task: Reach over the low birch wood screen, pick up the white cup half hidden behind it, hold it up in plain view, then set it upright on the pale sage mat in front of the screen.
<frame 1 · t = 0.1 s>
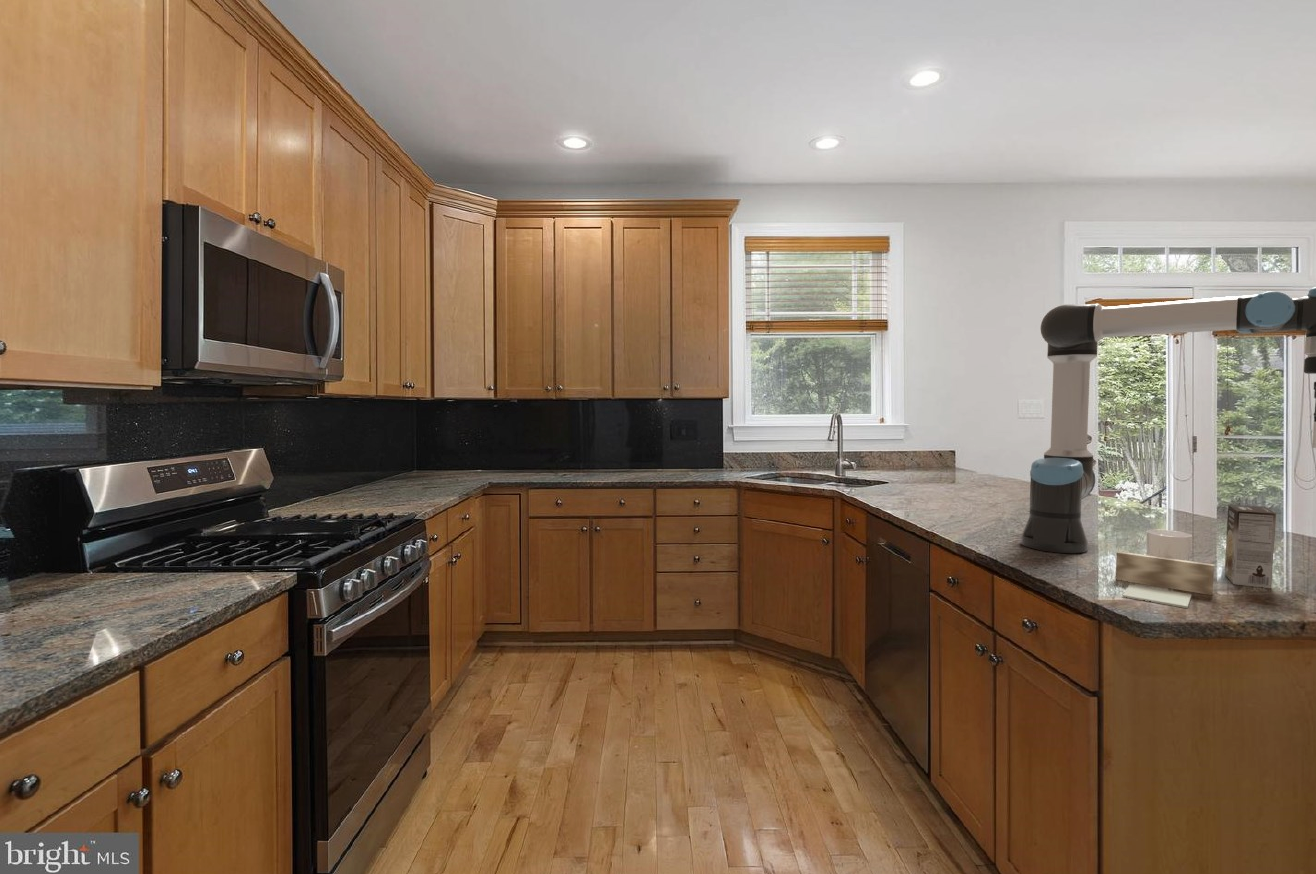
birch screen: (1162, 586, 133), on the worktop
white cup: (1166, 578, 140), on the worktop
coffee box: (1247, 582, 137), on the worktop
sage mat: (1157, 596, 126), on the worktop
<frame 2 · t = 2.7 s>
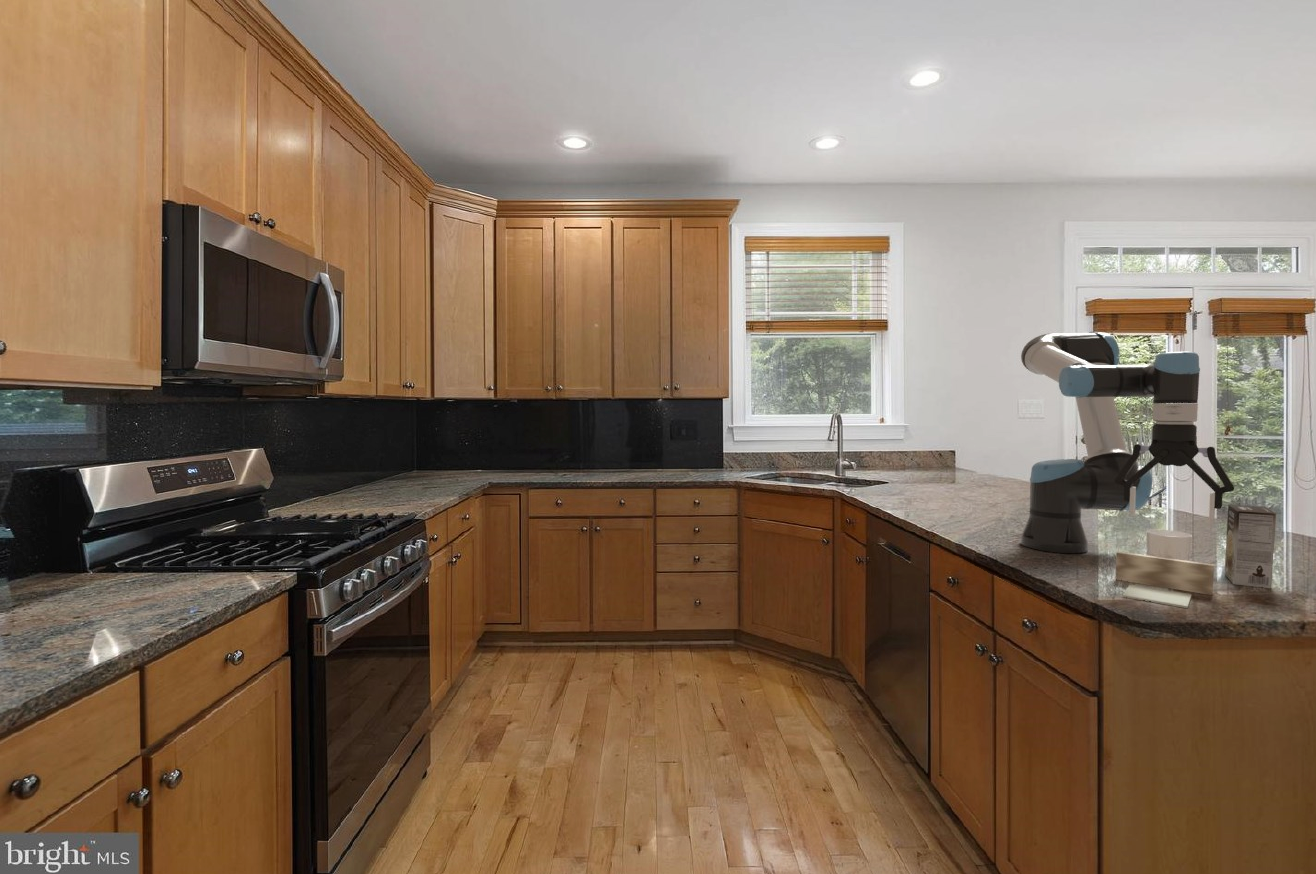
hand: (1170, 519, 139), 13 cm above the worktop, tool pointing down, fingers open, 13 cm apart
nothing on the worktop moved.
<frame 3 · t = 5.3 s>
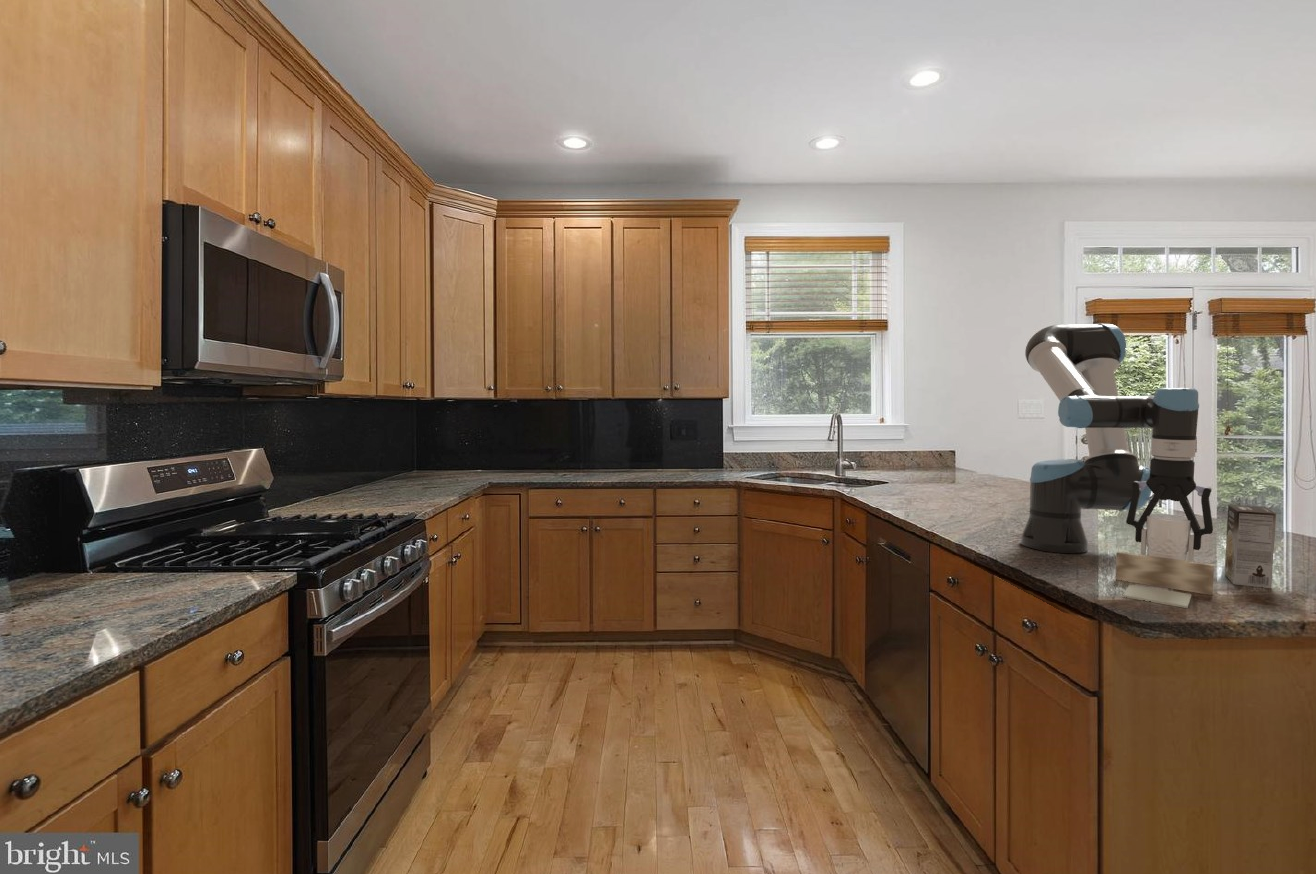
hand: (1166, 560, 140), 4 cm above the worktop, tool pointing down, fingers closed on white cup, 7 cm apart
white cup: (1166, 562, 140), point 3 cm above the worktop, touching gripper
everything else where it was.
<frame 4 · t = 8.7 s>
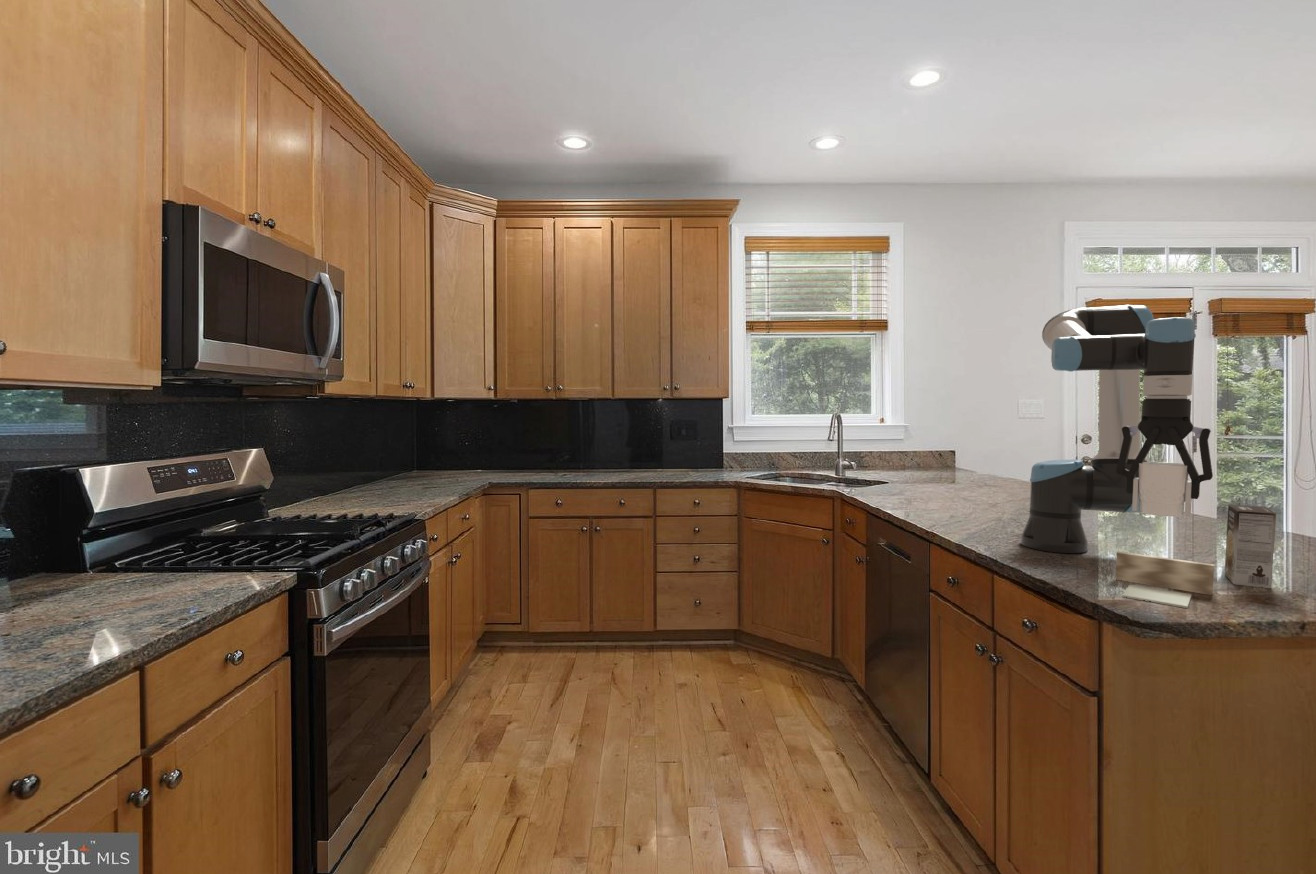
hand: (1160, 512, 125), 17 cm above the worktop, tool pointing down, fingers closed on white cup, 7 cm apart
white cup: (1161, 514, 126), point 17 cm above the worktop, touching gripper
everything else where it was.
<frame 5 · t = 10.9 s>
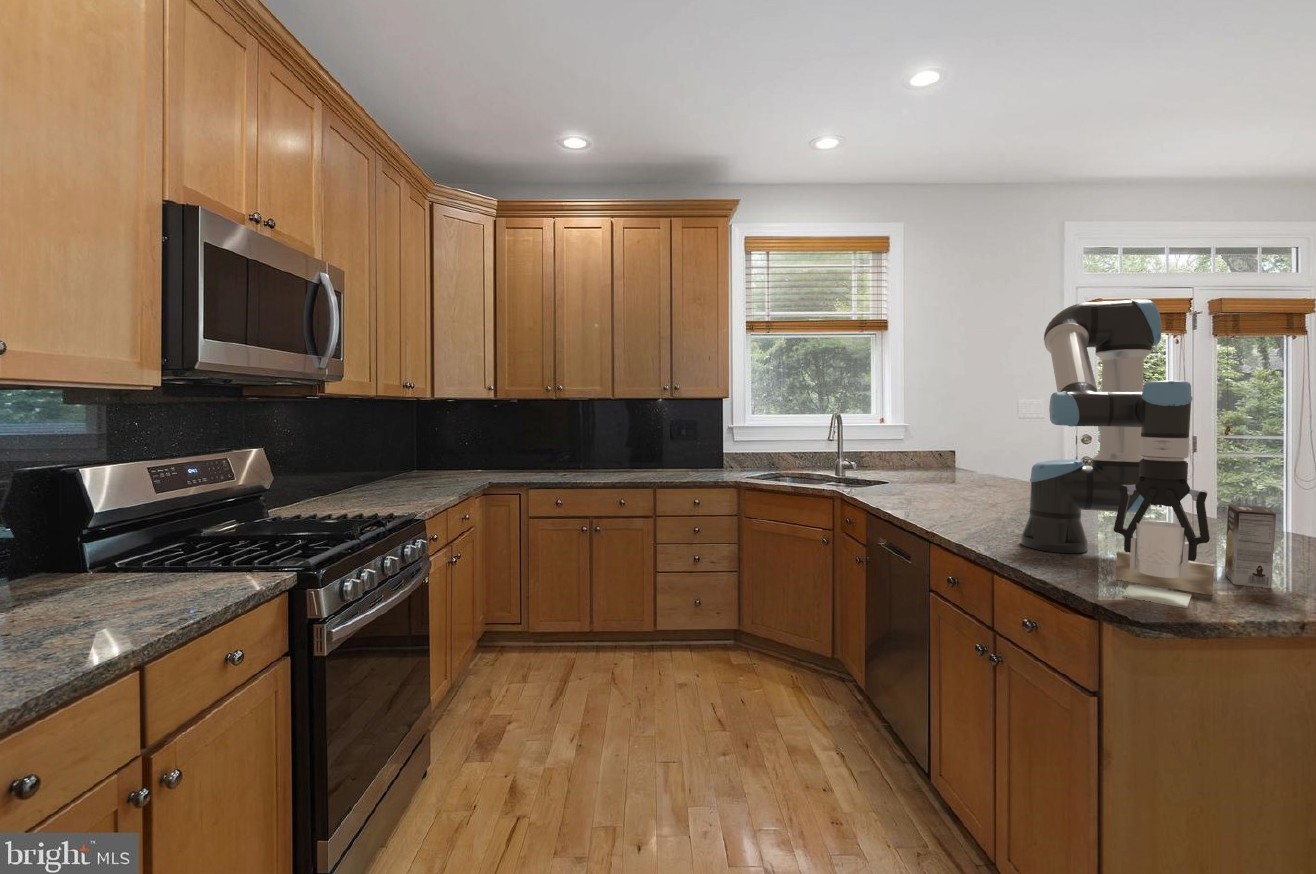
hand: (1158, 572, 126), 5 cm above the worktop, tool pointing down, fingers closed on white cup, 7 cm apart
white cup: (1158, 574, 126), point 4 cm above the worktop, touching gripper
everything else where it was.
when the fingers open (2 cm above the worktop, at t = 12.4 s): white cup drops 1 cm, resting on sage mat.
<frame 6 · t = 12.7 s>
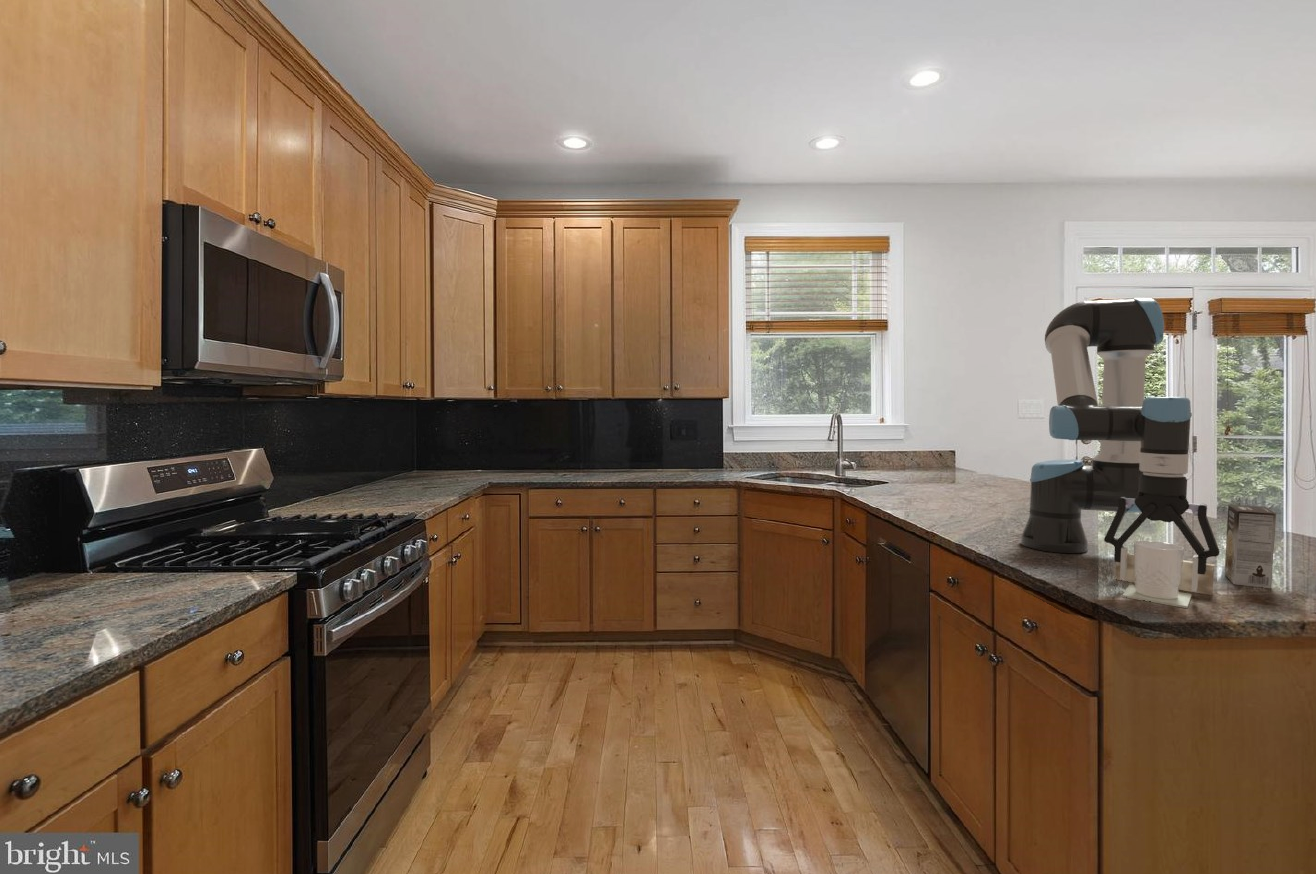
hand: (1157, 583, 126), 3 cm above the worktop, tool pointing down, fingers open, 10 cm apart
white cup: (1156, 595, 127), resting on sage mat
everything else where it was.
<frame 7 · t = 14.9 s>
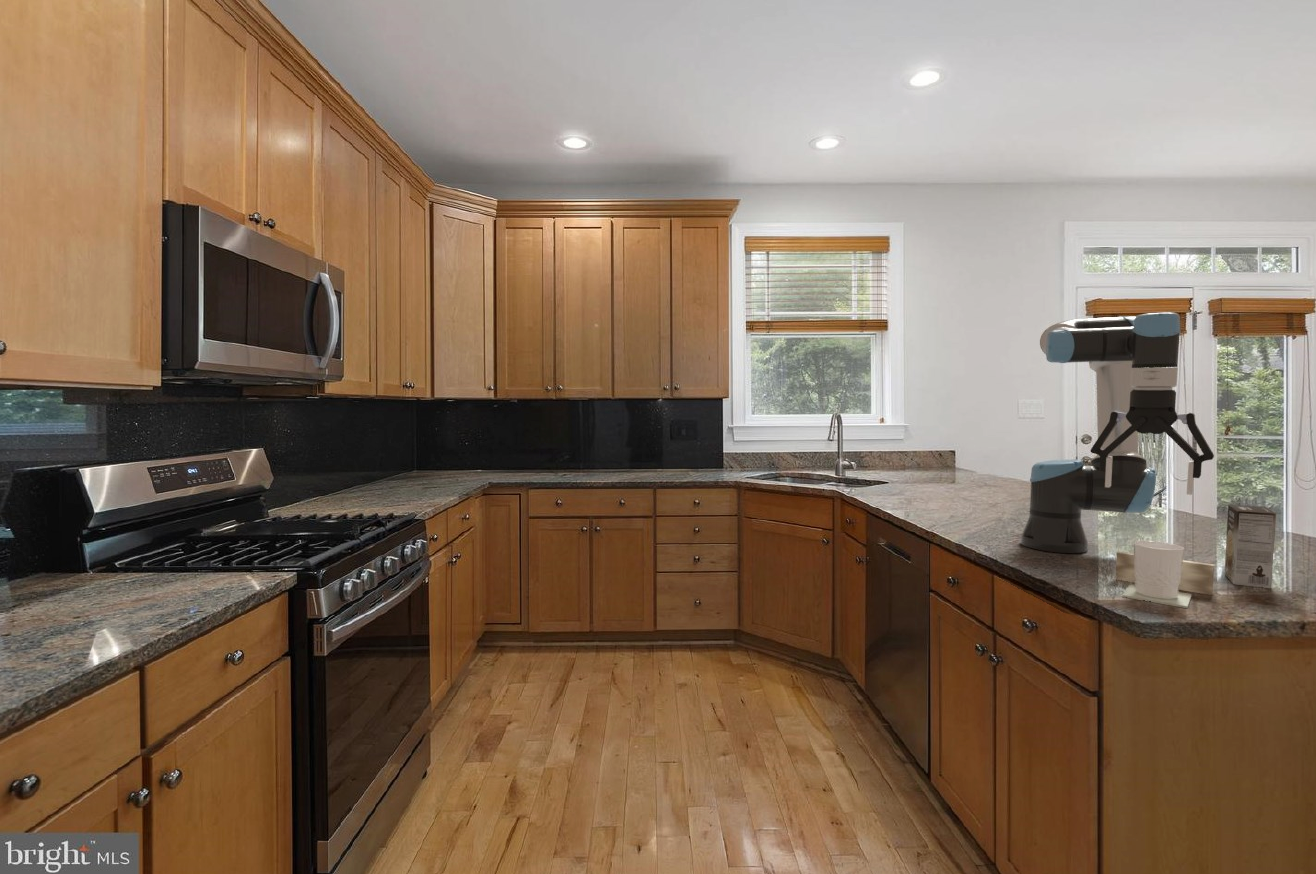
hand: (1147, 490, 132), 20 cm above the worktop, tool pointing down, fingers open, 13 cm apart
nothing on the worktop moved.
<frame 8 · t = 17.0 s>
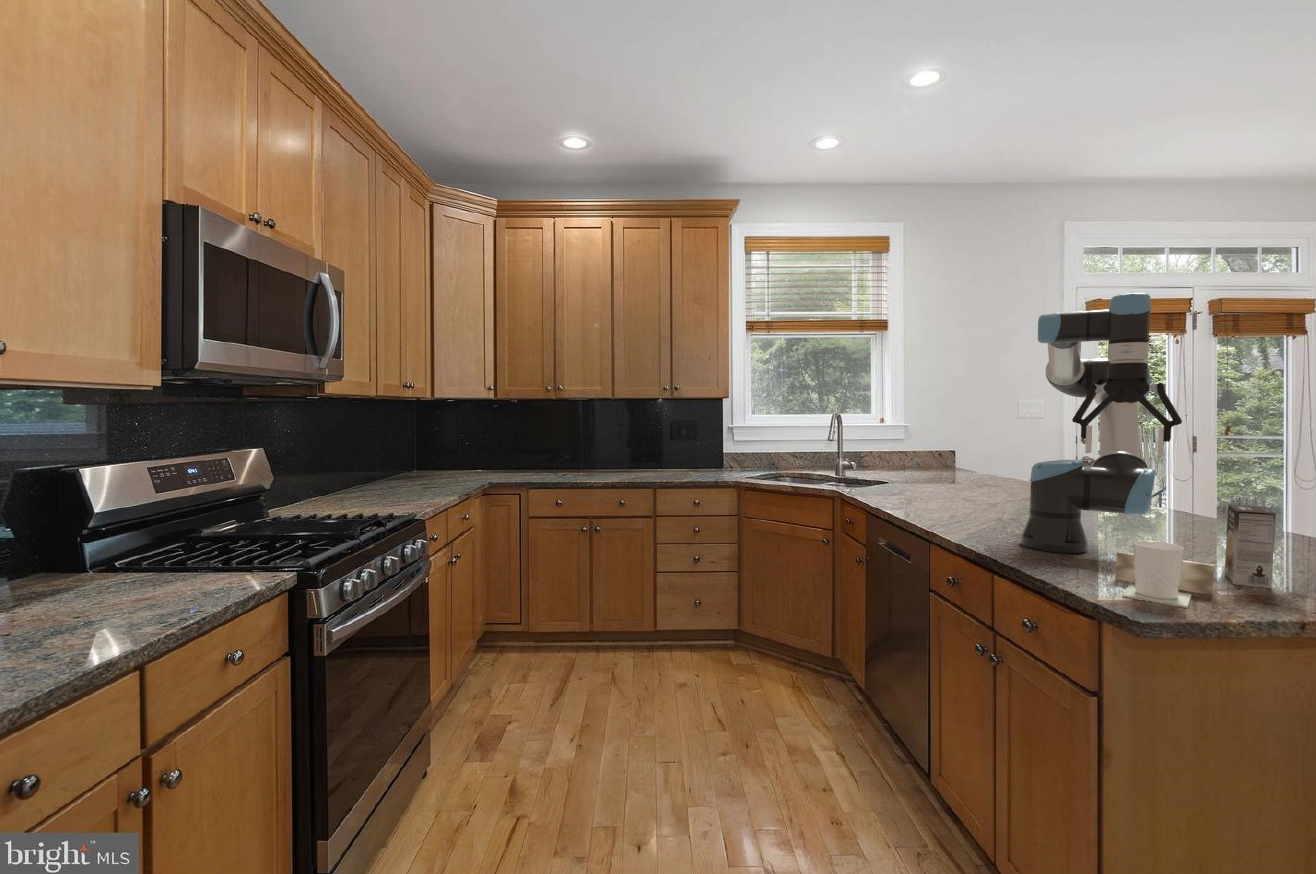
hand: (1123, 454, 146), 27 cm above the worktop, tool pointing down, fingers open, 13 cm apart
nothing on the worktop moved.
at the end: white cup 0.2 cm off-centre on the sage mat, point 0.2 cm above the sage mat's base; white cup tilted 0°; the gripper is holding nothing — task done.
